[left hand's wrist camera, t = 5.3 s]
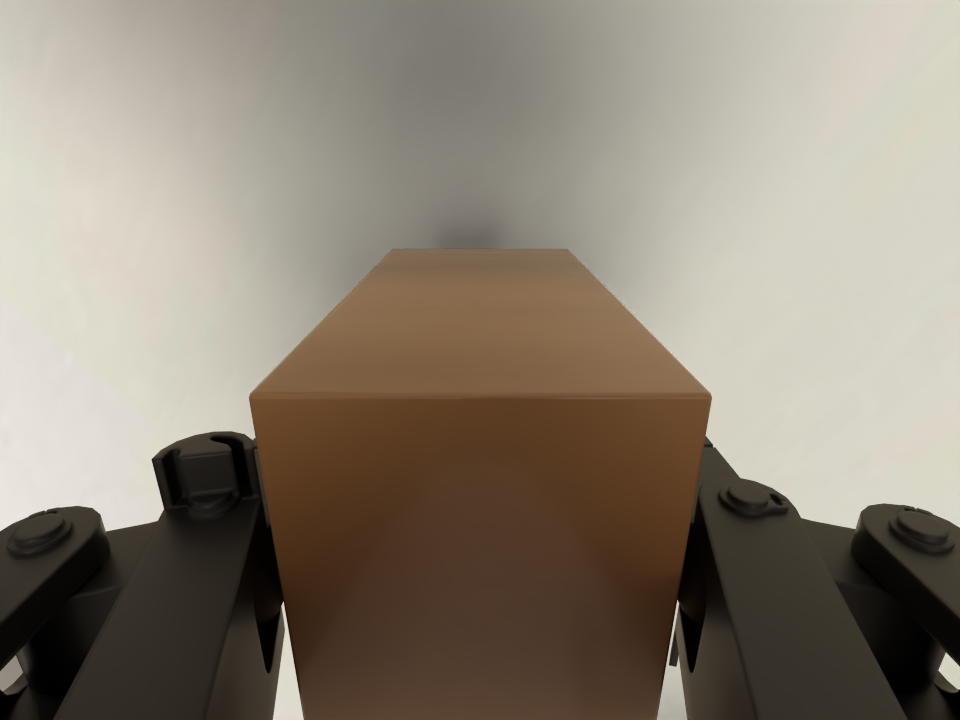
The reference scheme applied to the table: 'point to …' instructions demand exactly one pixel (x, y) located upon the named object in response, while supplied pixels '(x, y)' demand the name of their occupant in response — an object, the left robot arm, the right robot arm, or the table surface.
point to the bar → (480, 493)
